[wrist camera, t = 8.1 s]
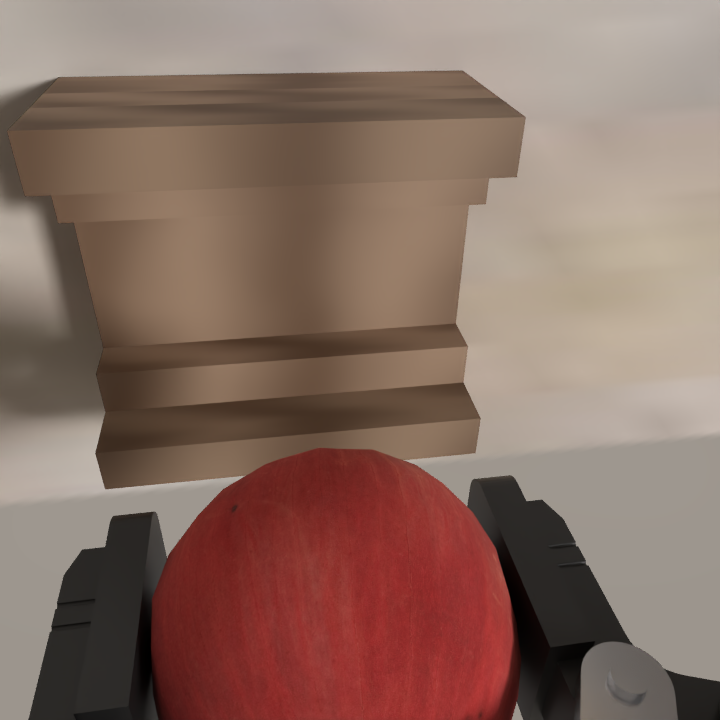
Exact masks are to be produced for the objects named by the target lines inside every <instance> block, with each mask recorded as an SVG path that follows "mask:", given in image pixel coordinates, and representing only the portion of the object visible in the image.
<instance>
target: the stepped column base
mask: <svg viewBox="0 0 720 720" xmlns="http://www.w3.org/2000/svg"><path fill="white" fill-rule="evenodd" d="M525 118H526V117H525V116H523V115H522V114H521V113H519V112H518V111H517V110H515V109H514V108H513V107H511V106H510V105H509V104H507V103H506V102H504V101H503V100H502V99H500V98H499V97H498V96H496V95H495V94H494V93H492V92H491V91H490V90H488V89H487V88H486V87H484V86H483V85H481V84H480V83H479V82H477V81H476V80H475V79H473V78H472V77H471V76H469V75H468V74H467V73H465V72H464V71H412V72H351V73H290V74H229V75H168V76H107V77H59V78H58V79H57V80H56V81H55V82H54V83H53V84H52V85H51V86H50V87H49V88H48V89H47V90H46V91H45V92H44V93H43V94H42V95H41V96H40V97H39V98H38V99H37V100H36V101H35V102H34V104H33V105H32V106H31V107H30V108H29V109H28V110H27V111H26V112H25V113H24V114H23V115H22V116H21V117H20V118H19V119H18V120H17V121H16V122H15V123H14V124H13V125H12V126H11V127H10V128H9V129H8V130H7V133H8V137H9V140H10V144H11V147H12V151H13V155H14V158H15V162H16V166H17V169H18V173H19V177H20V180H21V184H22V188H23V191H24V195H25V196H49V195H51V197H52V201H53V205H54V209H55V213H56V217H57V221H58V223H74V226H75V230H76V234H77V239H78V243H79V247H80V251H81V256H82V260H83V264H84V268H85V272H86V277H87V281H88V285H89V289H90V293H91V298H92V302H93V306H94V310H95V314H96V319H97V323H98V327H99V331H100V336H101V340H102V344H103V352H102V355H101V359H100V362H99V366H98V369H97V373H96V376H97V380H98V384H99V388H100V392H101V396H102V400H103V404H104V408H105V416H104V420H103V424H102V428H101V433H100V437H99V441H98V445H97V449H96V453H95V454H96V457H97V461H98V465H99V468H100V472H101V476H102V479H103V483H104V486H105V489H113V488H123V487H134V486H144V485H154V484H164V483H175V482H185V481H195V480H205V479H215V478H226V477H236V476H246V475H248V474H250V473H251V472H253V471H255V470H256V469H258V468H260V467H261V466H263V465H265V464H267V463H270V462H273V461H276V460H278V459H281V458H285V457H288V456H292V455H295V454H299V453H302V452H306V451H309V450H312V449H316V448H334V449H373V450H376V451H379V452H381V453H384V454H387V455H390V456H392V457H395V458H398V459H401V460H410V459H420V458H430V457H441V456H451V455H461V454H471V453H475V452H476V446H477V439H478V432H479V426H480V419H481V418H480V416H479V414H478V412H477V410H476V408H475V406H474V404H473V402H472V400H471V398H470V395H469V393H468V391H467V389H466V387H465V385H464V383H463V380H464V372H465V364H466V357H467V349H468V346H467V344H466V342H465V340H464V338H463V336H462V335H461V333H460V331H459V329H458V327H457V325H456V316H457V307H458V298H459V289H460V280H461V271H462V262H463V253H464V244H465V235H466V226H467V217H468V208H469V205H478V204H486V198H487V190H488V182H489V178H506V177H517V172H518V165H519V158H520V152H521V145H522V138H523V132H524V125H525Z"/></svg>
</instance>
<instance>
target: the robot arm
mask: <svg viewBox="0 0 720 720" xmlns="http://www.w3.org/2000/svg"><path fill="white" fill-rule="evenodd" d="M467 507H468V508H469V509H470V510H471V511H472V512H473V513H474V515H475V517H476V518H477V520H478V521H479V523H480V524H481V526H482V527H483V529H484V531H485V532H486V534H487V535H488V537H489V538H490V540H491V541H492V543H493V545H494V546H495V548H496V551H497V555H498V558H499V561H500V565H501V568H502V572H503V575H504V578H505V582H506V585H507V588H508V592H509V596H510V599H511V603H512V607H513V611H514V614H515V618H516V622H517V629H518V637H519V646H520V654H521V669H520V680H519V691H518V699H517V703H518V706H519V709H520V712H521V715H522V717H523V720H720V682H719V681H713V680H707V679H702V678H696V677H690V676H685V675H680V674H677V673H674V672H671V671H668V670H666V669H664V668H663V667H662V666H661V665H660V663H659V662H658V661H656V660H655V659H654V658H653V657H652V656H651V655H649V654H648V653H646V652H645V651H643V650H641V649H640V648H637V647H635V646H633V645H632V643H631V642H630V641H629V639H628V637H627V636H626V634H625V632H624V631H623V629H622V627H621V625H620V623H619V621H618V619H617V618H616V616H615V614H614V612H613V611H612V608H611V606H610V605H609V603H608V601H607V599H606V597H605V595H604V594H603V592H602V590H601V588H600V586H599V584H598V582H597V581H596V579H595V577H594V575H593V573H592V572H591V570H590V568H589V566H587V565H586V560H585V558H584V557H583V555H582V553H581V551H580V549H579V547H576V544H575V540H574V538H573V536H572V534H571V533H570V531H569V529H568V527H567V525H566V523H565V521H564V520H563V518H562V517H560V516H559V515H558V514H557V513H556V512H555V511H554V510H552V508H550V507H549V506H548V505H547V504H546V503H545V502H544V501H543V500H535V501H526V499H525V498H524V496H523V494H522V491H521V489H520V488H519V485H518V483H517V482H516V480H515V478H514V477H513V476H510V475H509V476H500V477H490V478H481V479H474V480H472V482H471V486H470V492H469V499H468V506H467ZM166 561H167V556H166V552H165V547H164V543H163V538H162V533H161V530H160V524H159V520H158V516H157V514H156V512H147V513H138V514H128V515H119V516H113V517H112V519H111V521H110V525H109V531H108V536H107V541H106V546H105V547H103V548H94V549H84V550H82V551H81V552H80V554H79V555H78V556H77V558H76V559H75V561H74V562H73V563H72V565H71V566H70V568H69V569H68V570H67V572H66V573H65V575H64V577H63V581H62V585H61V589H60V593H59V597H58V601H57V609H56V610H55V614H54V618H53V622H52V626H51V627H52V631H51V632H50V634H49V639H48V642H47V646H46V651H45V655H44V659H43V663H42V667H41V671H40V675H39V679H38V683H37V687H36V692H35V695H34V700H33V704H32V708H31V712H30V716H29V719H28V720H158V716H157V711H156V707H155V702H154V697H153V686H152V662H151V618H152V597H153V595H154V592H155V590H156V587H157V584H158V582H159V579H160V576H161V574H162V571H163V568H164V566H165V563H166Z"/></svg>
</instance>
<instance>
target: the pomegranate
mask: <svg viewBox="0 0 720 720" xmlns="http://www.w3.org/2000/svg"><path fill="white" fill-rule="evenodd" d="M151 662H152V686H153V697H154V702H155V707H156V711H157V716H158V720H512V716H513V713H514V709H515V706H516V702H517V699H518V691H519V680H520V669H521V654H520V646H519V637H518V629H517V622H516V618H515V614H514V611H513V607H512V603H511V599H510V596H509V592H508V588H507V585H506V582H505V578H504V575H503V572H502V568H501V565H500V561H499V558H498V555H497V551H496V548H495V546H494V545H493V543H492V541H491V540H490V538H489V537H488V535H487V534H486V532H485V531H484V529H483V527H482V526H481V524H480V523H479V521H478V520H477V518H476V517H475V515H474V513H473V512H472V511H471V510H470V509H469V508H468V507H467V506H466V505H465V504H464V503H463V502H462V501H461V500H459V499H458V498H457V497H456V496H455V495H454V494H453V493H452V492H451V491H450V490H449V489H448V488H447V487H446V486H445V485H444V484H443V483H442V482H440V481H439V480H437V479H436V478H434V477H433V476H431V475H430V474H428V473H427V472H425V471H424V470H422V469H421V468H419V467H418V466H416V465H414V464H412V463H409V462H406V461H403V460H401V459H398V458H395V457H392V456H390V455H387V454H384V453H381V452H379V451H376V450H373V449H334V448H316V449H312V450H309V451H306V452H302V453H299V454H295V455H292V456H288V457H285V458H281V459H278V460H276V461H273V462H270V463H267V464H265V465H263V466H261V467H260V468H258V469H256V470H255V471H253V472H251V473H250V474H248V475H246V476H245V477H243V478H241V479H240V480H238V481H236V482H235V483H233V484H231V485H230V486H228V487H226V488H225V489H223V490H222V491H221V492H220V493H219V494H218V495H217V496H216V497H215V498H214V499H213V500H212V502H210V504H209V505H208V506H207V507H206V508H205V509H204V510H203V511H202V512H201V513H200V514H199V515H198V516H197V518H196V519H195V520H194V522H193V523H192V524H191V526H190V527H189V528H188V530H187V531H186V532H185V534H184V535H183V536H182V538H181V539H180V540H179V542H178V543H177V544H176V546H175V547H174V549H173V550H172V551H171V552H170V554H169V556H168V558H167V561H166V563H165V566H164V568H163V571H162V574H161V576H160V579H159V582H158V584H157V587H156V590H155V592H154V595H153V597H152V618H151Z"/></svg>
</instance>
